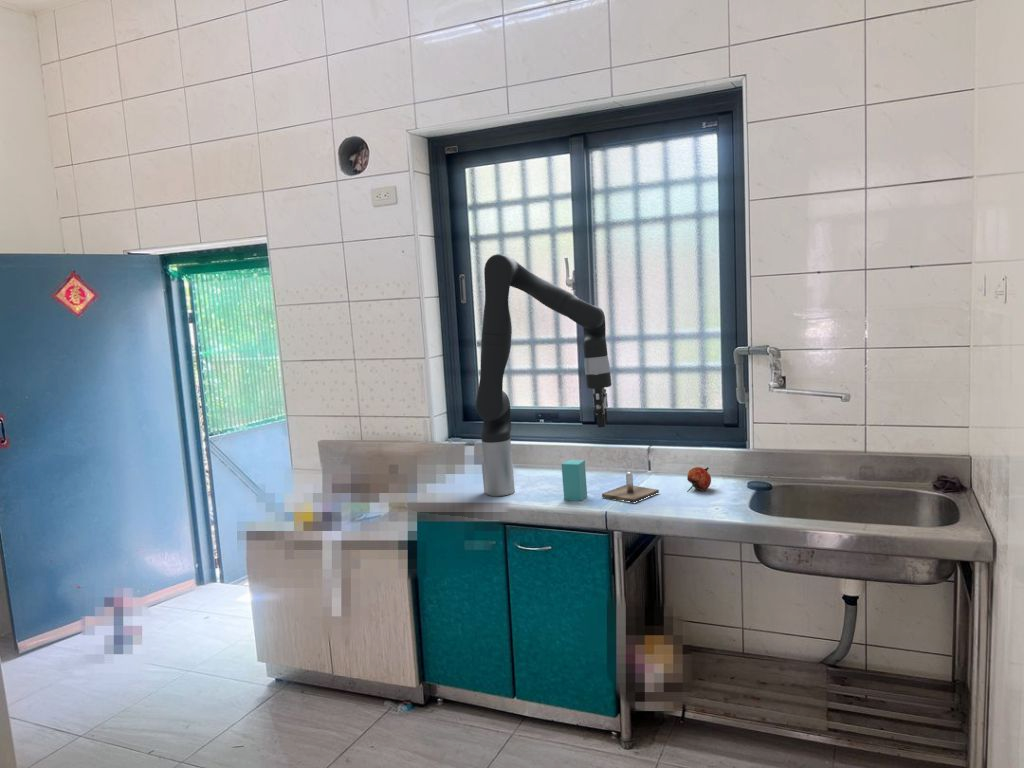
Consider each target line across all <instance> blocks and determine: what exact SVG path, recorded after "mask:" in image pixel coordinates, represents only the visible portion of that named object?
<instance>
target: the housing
mask: <svg viewBox="0 0 1024 768" xmlns="http://www.w3.org/2000/svg"><path fill="white" fill-rule="evenodd" d="M586 472H587V471H586V460H585V459H568V460H565V461H564V462H562V463H561V473H562V474H561V475H562V477H561V478H562V488H563V500H564V501H565V500H566V501H567V500H568V501H579V500H581V501H582V500H583V498H584V497H585V498H586V497H587V496H588V488H587V474H586ZM585 498H584V499H585Z"/></svg>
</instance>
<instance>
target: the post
mask: <svg viewBox="0 0 1024 768" xmlns="http://www.w3.org/2000/svg"><path fill="white" fill-rule="evenodd" d="M633 478H634V476H633V473H632V472H630V471H628V472H626V473H625V482H626V483H625V485H626V486H627V492H628V493H632V492H634V490H633V486H634V479H633Z"/></svg>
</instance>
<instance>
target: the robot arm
mask: <svg viewBox="0 0 1024 768" xmlns="http://www.w3.org/2000/svg"><path fill="white" fill-rule="evenodd" d="M483 272H484V276H483V277H484V307H483V308H484V309H483V317H482V319H483V320H482V329H481V330H482V331H481V339H480V340H481V342H480V344H481V345H480V347H481V350H480V374H479V384H478V390H477V396H476V399H475V400H476V401H475V410H476V412H477V414H478V415H479V417H480V418H481V420H482V421H483V424H482V425H483V426H482V430H481V433H480V437H481V448H482V458H483V462H482V463H481V470H482V479H483V480H482V483H483V493H485V494H486V495H488V496H492V497H501V496H508V495H511V494H513V493H515V491H516V490H515V489H516V488H515V475H514V466H513V464H514V462H513V454H512V452H513V451H512V442H511V440H512V439H511V430H512V413H511V402H510V399H509V396H508V394H507V393H506V392H505V391H504V390H503V388H504V387H503V382H504V374H505V371H506V369H507V368H506V367H507V364H508V360H509V357H510V354H511V348H512V334H513V333H512V332H513V331H512V330H513V329H512V328H513V327H512V319H511V318H512V317H511V314H510V313H511V312H510V308H509V306H510V305H509V295H510V287H512V288H514V289H516V290H520V291H522V292H524V293H526V294H527V295H529V296H531V297H532V298H534V299H535V300H537V301H538V302H539V303H541V304H542V305H543V306H545V307H547V308H548V309H550V310H552V311H554V312H556V313H558V314H560V315H562V316H564V317H567V318H569V320H571V321H572V322H574V323H576V324H578V325H580V326H581V327H583V336H584V339H583V344H582V345H583V356H584V375H585V384H586V388H587V389H588V390H589V389H590V390H592V389H593V390H594V392H593V394H592V398H593V408H594V414H595V415H596V423H597V427H598V428H605V427H606V424H607V423H608V422H609V418H608V406H609V405H608V404H609V402H608V392H607V389H606V388H610V387H612V375H611V365H610V360H609V356H608V346H607V345H608V344H607V341H606V339H607V338H606V333H607V332H606V316H605V313H604V311H603V309H602V308H601V307H599V306H596V305H593V304H592V303H591V304H590V303H589V302H587V301H585V300H583V299H580V298H578V296H576V295H575V294H574V293H572V292H570V291H568V290H566V289H564V288H562V287H560V286H558V285H557V284H554V283H552V282H550V281H548V280H545V279H544V278H542V277H540V276H538V275H536V274H535V273H534V272H531V271H530V270H528V269H527V268H526V267H524V265H522V264H520V263H519V262H518V261H517V260H515V259H514V258H513V257H511V256H510V255H508V254H502V253H501V254H500V253H495V254H493V255H491V256H490V257H488V259H487V260H486V262H485V264H484V270H483Z"/></svg>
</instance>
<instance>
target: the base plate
mask: <svg viewBox="0 0 1024 768" xmlns="http://www.w3.org/2000/svg"><path fill="white" fill-rule="evenodd" d="M633 490H634V492H632V493H628V492H627V486H626V484H624V485H622V486H619V487H616V488H614V489H611V490H608V491H606V492H605V491H604V492H603V493H601V498H602V497H603V498H602V499H607V498H608V499H607V500H612V499H616V500H615V501H617V500H624V501H630V502H636V501H639V500H641V499H644V498H646V497H648V496H651V495H654V494H656V493H660V490H659V489H656V488H652V487H651V488H650V487H644V486H638V485H637V486H636V485H633ZM654 496H655V495H654Z"/></svg>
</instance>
